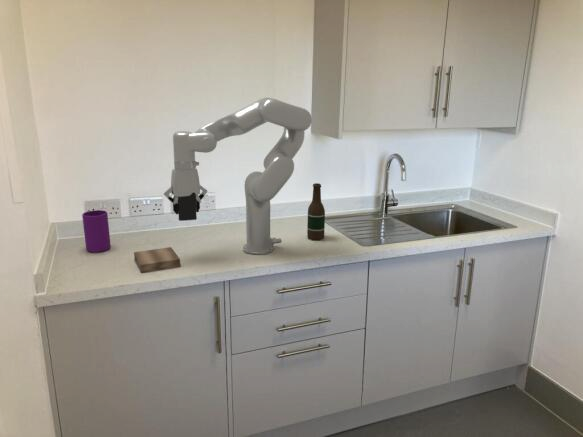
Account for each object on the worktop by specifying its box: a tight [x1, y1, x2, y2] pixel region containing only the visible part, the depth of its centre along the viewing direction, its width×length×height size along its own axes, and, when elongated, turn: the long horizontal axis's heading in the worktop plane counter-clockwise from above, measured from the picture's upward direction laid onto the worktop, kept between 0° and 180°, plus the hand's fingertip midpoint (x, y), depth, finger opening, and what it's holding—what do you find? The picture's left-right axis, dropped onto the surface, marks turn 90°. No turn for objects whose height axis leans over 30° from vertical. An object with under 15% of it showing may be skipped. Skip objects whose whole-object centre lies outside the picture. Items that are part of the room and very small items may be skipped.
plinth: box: [133, 246, 181, 274], centre depth 183 cm, size 14×14×3 cm
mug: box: [81, 209, 111, 253], centre depth 198 cm, size 9×16×15 cm, turn 26°
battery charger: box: [177, 192, 197, 222], centre depth 185 cm, size 7×4×11 cm, turn 108°
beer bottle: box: [306, 182, 326, 242], centre depth 210 cm, size 8×8×24 cm
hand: (186, 212), depth 185 cm, fingers closed on battery charger, 7 cm apart
